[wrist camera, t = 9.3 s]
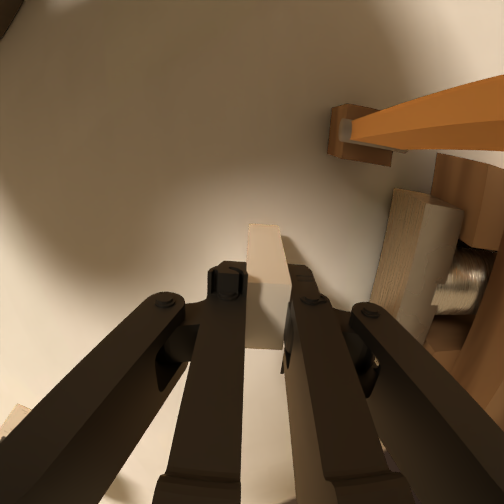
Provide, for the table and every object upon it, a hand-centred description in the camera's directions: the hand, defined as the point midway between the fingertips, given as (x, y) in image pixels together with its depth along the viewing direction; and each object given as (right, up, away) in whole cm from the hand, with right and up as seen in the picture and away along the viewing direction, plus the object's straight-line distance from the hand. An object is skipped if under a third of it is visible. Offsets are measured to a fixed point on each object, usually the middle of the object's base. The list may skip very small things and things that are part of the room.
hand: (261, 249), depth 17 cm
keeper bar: (+5, +2, -11) cm, 12 cm away
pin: (+17, -1, +2) cm, 17 cm away
